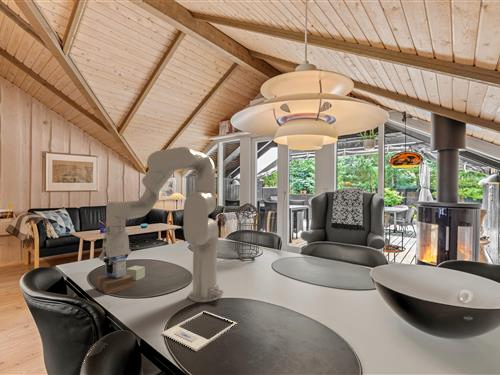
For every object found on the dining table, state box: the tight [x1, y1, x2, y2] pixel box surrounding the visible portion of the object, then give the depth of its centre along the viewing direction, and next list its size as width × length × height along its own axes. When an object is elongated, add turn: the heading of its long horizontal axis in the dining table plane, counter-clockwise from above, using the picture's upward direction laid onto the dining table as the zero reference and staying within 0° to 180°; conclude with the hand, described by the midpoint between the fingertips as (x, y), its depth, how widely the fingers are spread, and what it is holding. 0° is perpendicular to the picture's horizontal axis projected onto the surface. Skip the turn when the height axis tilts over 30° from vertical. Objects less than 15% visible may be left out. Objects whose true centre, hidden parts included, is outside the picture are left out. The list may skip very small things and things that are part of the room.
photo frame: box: [161, 310, 238, 352], centre depth 84 cm, size 15×1×18 cm
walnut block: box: [96, 273, 134, 295], centre depth 118 cm, size 11×11×5 cm
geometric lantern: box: [233, 202, 264, 262], centre depth 169 cm, size 16×16×35 cm
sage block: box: [126, 265, 146, 281], centre depth 131 cm, size 6×6×5 cm
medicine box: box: [104, 256, 127, 278], centre depth 118 cm, size 8×4×9 cm, turn 62°
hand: (115, 271), depth 118 cm, fingers closed on medicine box, 4 cm apart
